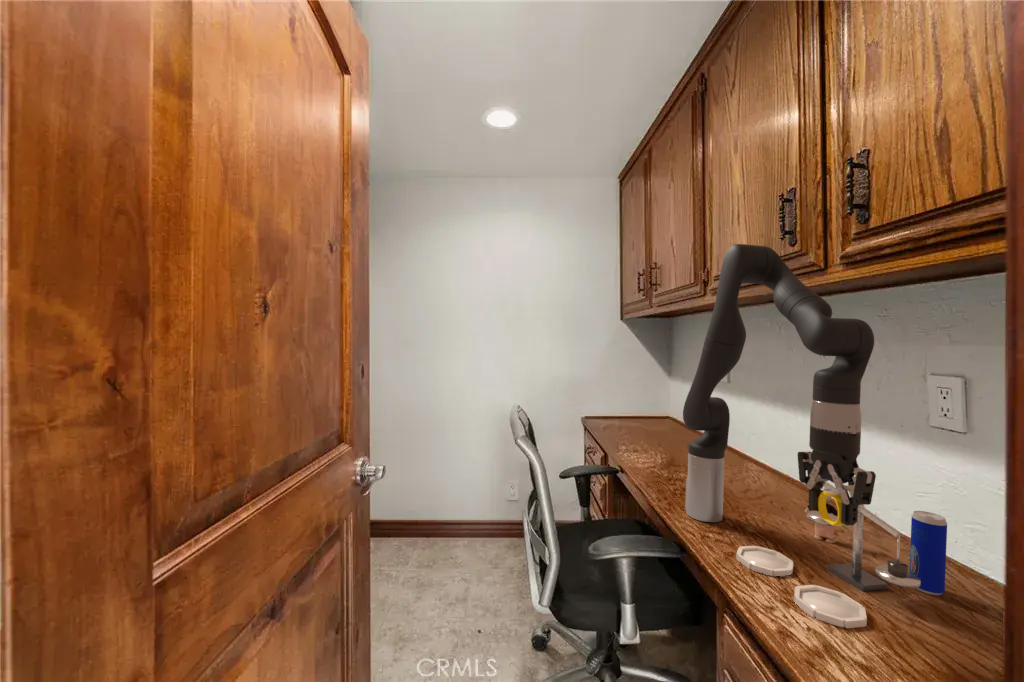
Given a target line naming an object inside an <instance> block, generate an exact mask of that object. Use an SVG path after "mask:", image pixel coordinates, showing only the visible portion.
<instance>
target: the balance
mask: <svg viewBox="0 0 1024 682" xmlns="http://www.w3.org/2000/svg"><path fill="white" fill-rule="evenodd" d="M823 488H824V489H833V490H837V489H836V487H835V485H832V484H831V483H829V482H828V481H827V482H826V483H825V485H824V486H823ZM837 491H838V490H837ZM841 498H842V497H841ZM828 515H829V517H830V519H832V520H834V521H835V522H836V520H837V516H835V515H833V514H832V513H831V514H829V513H828ZM864 516H865V517H867V518H868V519H870V520H871V521H873V522H874V523H876V524H877V525H878V526H880V528H881V527H882V528H883V530H885V531H886V532H888V533H889V534H891V535H892V536H893V537H895V538H897V539H896V540H897V541H896V560H895V559H888V560H887V564H883V565H882V564H880V565H877V566H875V575H876V576H878V577H876V576H874V575H873V574H871V573H869V572H867V570H864V569H862V568H863V545H864V543H863V542H864ZM806 519H808V520H809V521H811V522H814V523H815V522H816V523H819V524H822V525H827V526H832V525H831V524H829V523H828V522H827V521H825V520H823V519H822V517H821V515H820V512H819V511H809V512H807V514H806ZM902 534H903V533H902V532H901V531H899V530H898V529H897V528H895V527H893V526H892V525H890V524H889V523H888V522H886V521H885V520H883V519H882V518H880V517H878V516H877V515H876V514H874V513H873V512H871V511H870V510H868V509H867V508H866V506H865V505H859V506H858V517H857V522H856V523H855V524H854V525H852V554H851V555H852V557H851V562H848V563H834V564H827V565H826V569H828V570H827V571H829V572H830V573H832V572H833V573H832V574H833V575H835V574H836V575H835V576H837V577H838V578H840V579H842V580H844V581H845V582H847V583H849V584H850V585H852V586H853V587H856V588H857V589H859V590H860V591H862V592H869V591H880V590H888V589H889V583H891V584H894V585H896V586H900V587H903V588H909V589H915V588H918V587H920V585H921V580H920V579H919V578H918V577H917V576H916V575H914V574H912V573H910V571H908V570H909V569H908V568H909V566H908V564H906V563H904V562H903V561H900V553H901V550H900V549H901V537H902ZM887 582H888V583H887Z"/></svg>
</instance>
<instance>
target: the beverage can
mask: <svg viewBox="0 0 1024 682" xmlns="http://www.w3.org/2000/svg"><path fill="white" fill-rule="evenodd" d="M910 520H911V523H910V524H911V525H910V546H909V547H910V549H909V550H910V553H909V555H910V556H909V572H910V573H912V574H914V575H916V576H917V577H918V578H919V579H920V580H921V585H920V587H918V588H914V589H916V590H917V591H919V592H921V593H924V594H926V595H930V596H938V597H939V596H942V595H943V594H944V593H945V592H946V567H947V564H946V563H947V541H948V537H947V536H948V523H947V519H946V517H944V516H942V515H940V514H936V513H934V512H930V511H924V510H914V511H913V513H912V515H911V519H910Z"/></svg>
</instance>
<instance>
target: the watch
mask: <svg viewBox="0 0 1024 682" xmlns="http://www.w3.org/2000/svg"><path fill="white" fill-rule="evenodd" d="M828 496H830V497H831V498H833V500H834V502H835V505H836V509H837V511H838V517H837V520H836V522H835V521H834V520H832V519H830V517H829V515H828V513H827V508H826V499H827V497H828ZM842 503H844V502H843V500H842V498H841V494H840V492H839V491H837V490H833V489H827V488H826V489H824V490H823V492H821V493H820V495H819V498H818V509H819V512H820V515H821V517H822V519H823V520H825V521H827V522H828V523H829V524H831V525H832V526H833V527H841V526H844V524H842V523H841V513H842Z"/></svg>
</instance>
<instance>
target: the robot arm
mask: <svg viewBox="0 0 1024 682" xmlns="http://www.w3.org/2000/svg"><path fill="white" fill-rule="evenodd" d="M793 272H794V271H792V270H791V268H790V267H789V266H788V265H787V264H786V263H785V261H784V260H783V259H782V257H781V256H780V255H779V254H778V252H776V251H775V250H774V249H772V248H771V247H769V246H765V245H756V244H755V245H754V244H746V243H745V244H743V243H742V244H741V243H735V244H733V245H731V246H730V247H729V248H728V249H727V250H726V253H725V254H724V257H723V260H722V263H721V268H720V274H719V280H718V284H717V285H718V286H717V291H716V296H715V301H714V307H713V310H712V315H711V319H710V321H709V325H708V328H707V331H706V336H705V339H704V343H703V346H702V349H701V354H700V358H699V362H698V366H697V369H696V371H695V376H694V379H693V380H692V383H691V385H690V388H689V391H688V393H687V395H686V399H685V402H684V405H683V409H682V418H683V419H682V421H683V423H684V425H685V427H686V428H688V429H689V430H691V431H697V432H698V431H699V432H700V431H703V433H702V434H701V435H700V436H699V437H697V438H695V439H694V440H692V441H690V442H689V443H688V449H687V450H688V451H687V453H688V456H687V457H688V459H687V476H686V477H685V500H684V501H685V503H684V504H685V505H684V507H685V508H684V510H686V512H685V513H686V514H687V516H689V517H690V518H692V519H694V520H697V521H699V522H704V523H705V522H707V523H719V522H721V521H722V520H723V512H724V511H723V509H724V488H725V487H724V482H725V455H726V451H727V447H728V441H729V434H730V433H729V432H730V430H729V429H730V421H731V419H730V417H731V416H730V408H729V406H728V404H727V402H726V400H724V398H721V397H715V396H714V397H713V396H712V395H713V392H714V390H715V389H716V387H717V386H718V384H719V383H720V382H721V381H722V380H723V379H724V378H726V376H727V375H728V374H729V373H730V372H731V371H732V370H733V369H734V368H735V367H736V365H738V363H739V361H740V358H741V356H742V353H743V350H744V347H745V342H746V338H747V332H746V328H745V323H744V321H743V318H742V316H741V312H740V310H739V303H738V302H739V296H740V295H739V293H740V290H741V286H742V284H749V285H750V284H751V285H755V284H757V285H758V284H759V285H760V284H761V285H762V286H765V287H767V288H768V289H770V290H771V291H773V295H772V297H773V303H774V305H775V308H776V309H777V311H778V312H779V313H780V314H781V315H782V316H783V317H785V318H786V319H787V321H788V322H790V323H791V325H793V326H794V328H795V330H796V332H797V334H798V337H799V338H800V340H801V343H802V344H803V346H804V347H805V349H807V350H809V351H810V352H811V353H813V354H815V355H818V356H823V357H835V358H834V360H833V362H832V365H830V367H828V368H823V369H819V370H816V371H815V373H814V375H813V381H812V382H813V383H812V402H811V408H810V419H809V443H808V444H809V447H810V449H811V450H812V451H798V452H797V466H798V468H797V469H798V478H799V482H800V483H802V484H803V483H804V484H805V485H806V487H807V489H808V501H807V502H808V505H810V508H811V509H813V510H819V509H818V498H819V495H820V493H821V492H823V490H821V489H822V488H824V485H825V483H826V482H828V481H830V482H831V483H833V484H834V487H835V488H836V489H837V490H838V491H839V492H840V494H841V497H842V500H843V502H844V503H842V513H841V523H842V524H843V526H844V525H845V526H853V525H854V524H855V523H856V522H857V517H858V506H859V505H864V506H865V505H866V506H868V505H871V503H872V501H873V500H872V499H873V493H874V487H875V483H876V477H877V476H876V475H877V474H876V473H875V472H874V471H873V470H870V471H868V470H865V469H862V468H861V467H860V466H859V463H858V461H857V458H858V457H859V456H860V454H861V439H862V435H861V434H862V411H861V389H862V386H861V385H862V379H863V376H864V374H865V372H866V370H867V366H868V364H869V361H870V359H871V356H872V353H873V349H874V345H875V335H874V332H873V329H872V327H871V326H870V324H868V323H867V321H865V320H862V319H858V318H844V317H843V318H842V317H832V315H833V310H832V307H831V305H830V304H829V303H828V302H827V300H825V299H824V298H822V297H821V296H820V295H819V294H817V293H816V292H814V290H812V289H811V288H809V287H808V286H806V284H804V283H803V282H802V281H801V280H800V279H799V278H798V277H797V276H796V275H795V273H793ZM806 471H807V472H806ZM846 484H847V485H846Z"/></svg>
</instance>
